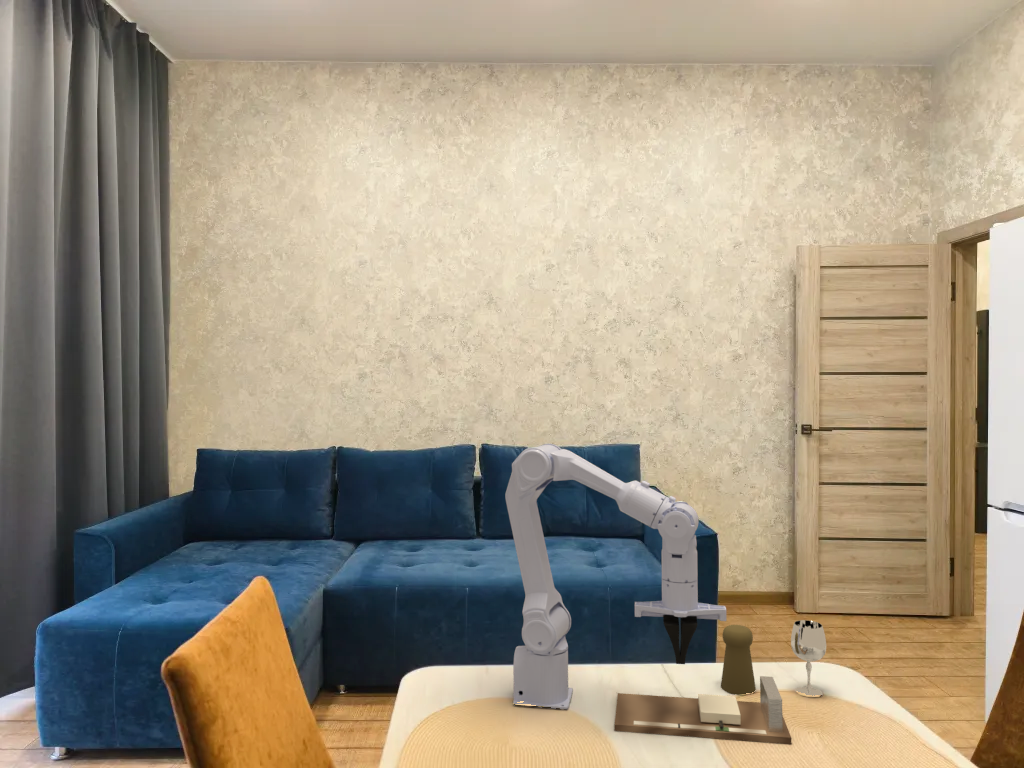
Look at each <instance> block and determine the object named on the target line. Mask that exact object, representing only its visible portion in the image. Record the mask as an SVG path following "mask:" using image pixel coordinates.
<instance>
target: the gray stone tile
mask: <svg viewBox="0 0 1024 768" xmlns="http://www.w3.org/2000/svg"><path fill="white" fill-rule="evenodd" d="M759 682H760V683H759V689H760V690H759V691H760V692H759V693H760V694H759V697H760V698H759V700H760V706H761V709H762V712H763V715H764V718H765V721H766V724H767V727H768V730H769V732H783V722H782V715H783V698H782V696H781V693H780V691H779V688H778V686H777V684H776V682H775V679H774V677H773V676H766V675H765V676H763V675H760V676H759Z"/></svg>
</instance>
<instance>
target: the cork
mask: <svg viewBox="0 0 1024 768" xmlns="http://www.w3.org/2000/svg"><path fill="white" fill-rule="evenodd" d="M753 639H754V636H753V633H752V631H751V629H750V628H748V627H747V626H744V625H742V624H741V625H740V624H729V625H726V626H725V627H724V628H723V631H722V640H723V643H724V644H725V650H724V658H723V665H722V673H721V683H720V689H721V690H722V691H724V692H725V693H728V694H731V695H735V694H746V693H752V692H754V691H755V690H757V688H756V682H755V674H754V668H753V662H752V661H753V660H752V653H751V646H752V644H753Z"/></svg>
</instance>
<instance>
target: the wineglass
mask: <svg viewBox="0 0 1024 768" xmlns="http://www.w3.org/2000/svg"><path fill="white" fill-rule="evenodd" d="M792 625H793V626H792V629H791V637H790V646H791V650H792V652H793V653H794V656H796V657H798V658H799V659H800V660H802V661H806V663H805V669H806V673H807V674H806V675H807V684H806V686H799V687H797V688H795V692H796V691H798V692H801V693H805V694H806V695H812V696H813V695H814V696H815V695H822V696H823V692H822V690H820V689H818V688H815V687H812V684H811V672H812V670H813V669H812V662H817V661H819V660H822V658H823V657H824V656H825V655H826V653H827V639H826V634H825V630H824V627H823V624H822V623H820V622H819V621H818V622H817V621H813V620H806V619H802V620H801V619H799V620H796V621H794V622H793V624H792Z"/></svg>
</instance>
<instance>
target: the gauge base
mask: <svg viewBox="0 0 1024 768" xmlns="http://www.w3.org/2000/svg"><path fill="white" fill-rule="evenodd" d="M737 704H738V708H739V711H740V719H741V725H739V724H725V723H723V726H724V729H723V728H720V725H719V723H711V722H701V718H700V712H699V705H698V697H683V696H682V697H680V696H668V695H667V696H666V695H653V694H651V695H650V694H637V693H622V692H618V693H617V697H616V705H615V706H616V708H615V716H614V717H615V718H614V725H613V727H614V729H613V730H614V732H625V733H626V732H627V733H635V734H636V733H637V734H638V733H639V734H651V735H663V736H664V735H665V736H678V737H690V738H691V737H692V738H701V739H702V738H703V739H704V738H705V739H717V740H718V739H719V740H732V741H742V742H757V743H758V742H759V743H768V742H770V743H772V744H784V745H792V736H791V733H790V731H789V728H788V726H787V724H786V721H785V717H784V716H783V714H782V722H783V732H769V730H768V727H767V724H766V721H765V718H764V715H763V712H762V709H761V706H760V702H757V701H746V700H745V701H743V700H737Z"/></svg>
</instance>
